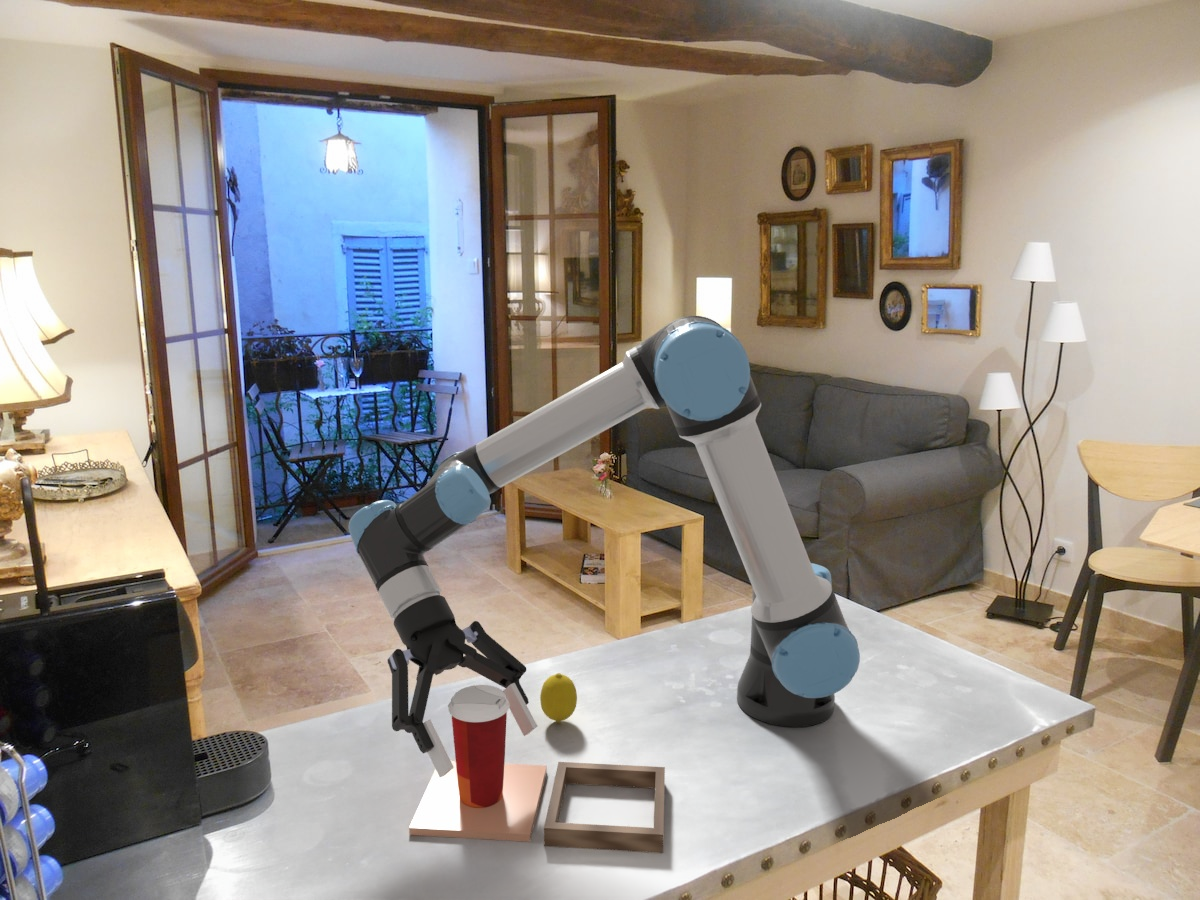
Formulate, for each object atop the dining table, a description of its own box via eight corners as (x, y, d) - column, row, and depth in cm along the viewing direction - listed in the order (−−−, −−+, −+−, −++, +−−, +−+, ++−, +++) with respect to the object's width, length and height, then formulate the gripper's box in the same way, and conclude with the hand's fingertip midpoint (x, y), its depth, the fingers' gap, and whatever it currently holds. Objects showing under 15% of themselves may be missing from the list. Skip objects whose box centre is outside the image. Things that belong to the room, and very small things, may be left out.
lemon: (572, 733, 137) (572, 684, 135) (536, 729, 138) (535, 680, 136) (580, 714, 142) (580, 667, 141) (545, 711, 144) (545, 663, 142)
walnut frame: (664, 783, 125) (664, 767, 124) (663, 853, 111) (663, 834, 110) (558, 778, 126) (558, 761, 125) (543, 846, 112) (543, 828, 111)
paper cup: (520, 785, 122) (519, 688, 119) (495, 818, 115) (493, 716, 112) (467, 773, 125) (464, 678, 122) (439, 805, 118) (436, 705, 115)
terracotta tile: (546, 772, 127) (546, 765, 127) (530, 841, 113) (529, 834, 112) (439, 766, 128) (439, 760, 128) (409, 834, 114) (409, 827, 114)
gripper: (479, 595, 135) (549, 726, 128) (324, 648, 118) (395, 802, 111) (501, 570, 130) (575, 705, 123) (343, 621, 113) (419, 781, 106)
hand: (490, 751), depth 117 cm, fingers open, 13 cm apart
